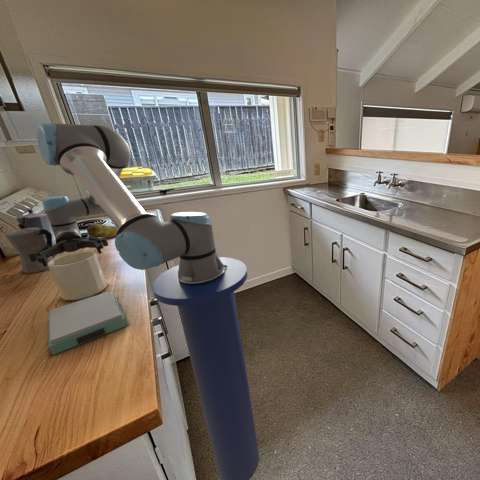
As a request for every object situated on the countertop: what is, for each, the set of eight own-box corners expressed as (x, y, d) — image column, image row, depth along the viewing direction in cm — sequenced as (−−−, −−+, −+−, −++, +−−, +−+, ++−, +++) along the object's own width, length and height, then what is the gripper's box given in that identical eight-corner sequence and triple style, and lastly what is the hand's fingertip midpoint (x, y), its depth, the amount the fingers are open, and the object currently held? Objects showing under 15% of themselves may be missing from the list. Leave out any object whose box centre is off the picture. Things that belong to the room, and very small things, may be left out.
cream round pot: (104, 280, 90) (93, 248, 86) (109, 291, 83) (98, 257, 79) (61, 292, 83) (47, 258, 79) (63, 306, 76) (47, 269, 71)
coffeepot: (9, 274, 95) (-14, 228, 89) (34, 263, 104) (15, 220, 98) (53, 272, 96) (33, 226, 90) (73, 261, 105) (57, 219, 99)
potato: (123, 236, 134) (118, 222, 131) (91, 243, 126) (85, 227, 123) (120, 233, 140) (116, 219, 137) (90, 238, 131) (84, 224, 129)
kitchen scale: (115, 298, 79) (112, 289, 78) (127, 326, 66) (124, 316, 65) (51, 319, 70) (47, 309, 68) (52, 356, 57) (46, 345, 56)
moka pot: (65, 246, 121) (49, 205, 114) (57, 257, 109) (38, 212, 102) (37, 251, 116) (18, 208, 109) (25, 263, 104) (3, 215, 97)
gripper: (112, 241, 109) (121, 255, 95) (26, 259, 92) (22, 279, 78) (106, 224, 106) (115, 236, 92) (17, 239, 90) (11, 256, 75)
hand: (72, 255), depth 85 cm, fingers open, 13 cm apart
